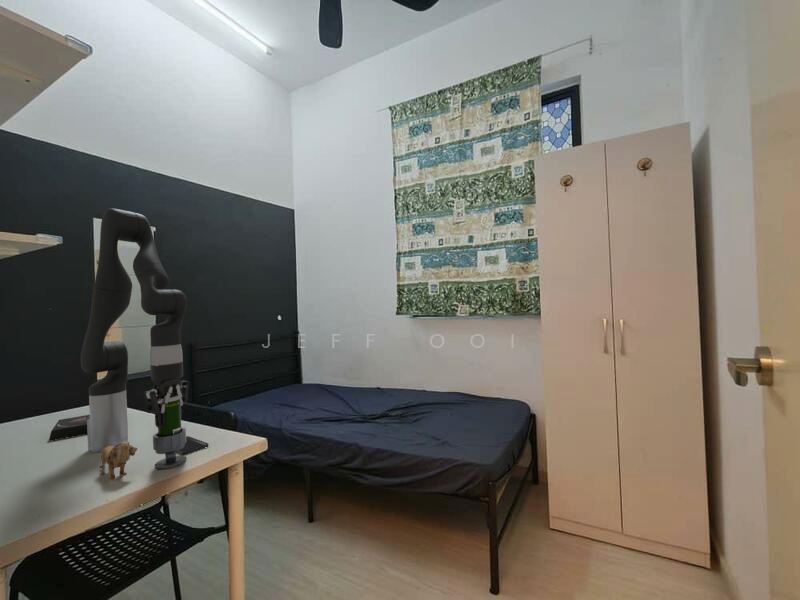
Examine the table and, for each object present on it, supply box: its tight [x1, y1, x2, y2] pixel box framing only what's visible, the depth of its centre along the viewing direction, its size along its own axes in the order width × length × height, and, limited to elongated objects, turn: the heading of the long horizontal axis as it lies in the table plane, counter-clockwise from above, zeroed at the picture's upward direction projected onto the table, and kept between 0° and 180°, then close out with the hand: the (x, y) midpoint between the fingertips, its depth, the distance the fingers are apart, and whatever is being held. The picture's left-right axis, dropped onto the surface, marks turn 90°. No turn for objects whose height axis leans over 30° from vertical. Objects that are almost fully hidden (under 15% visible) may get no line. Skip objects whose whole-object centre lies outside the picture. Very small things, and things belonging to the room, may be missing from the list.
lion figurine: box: [99, 441, 138, 482], centre depth 94 cm, size 15×5×9 cm, turn 63°
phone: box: [176, 435, 210, 456], centre depth 111 cm, size 8×1×15 cm
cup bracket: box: [152, 427, 187, 471], centre depth 99 cm, size 7×7×8 cm
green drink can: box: [157, 395, 182, 437], centre depth 99 cm, size 5×5×12 cm
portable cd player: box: [48, 414, 90, 441], centre depth 134 cm, size 16×17×4 cm
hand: (169, 422), depth 99 cm, fingers closed on green drink can, 5 cm apart
